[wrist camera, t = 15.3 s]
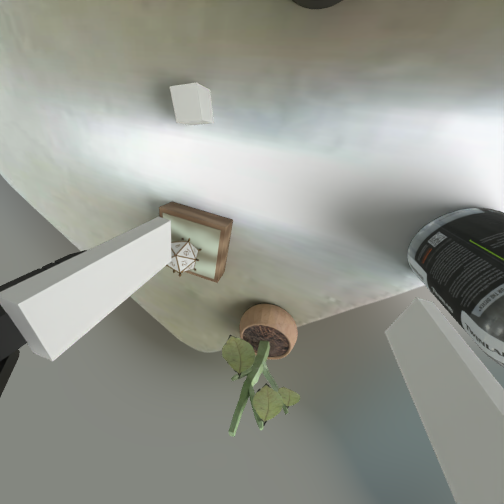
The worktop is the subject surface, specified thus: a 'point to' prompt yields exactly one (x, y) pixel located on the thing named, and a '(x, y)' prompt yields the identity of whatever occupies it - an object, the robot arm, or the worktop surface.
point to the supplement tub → (466, 272)
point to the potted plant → (261, 361)
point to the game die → (183, 256)
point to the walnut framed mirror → (201, 237)
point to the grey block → (192, 104)
